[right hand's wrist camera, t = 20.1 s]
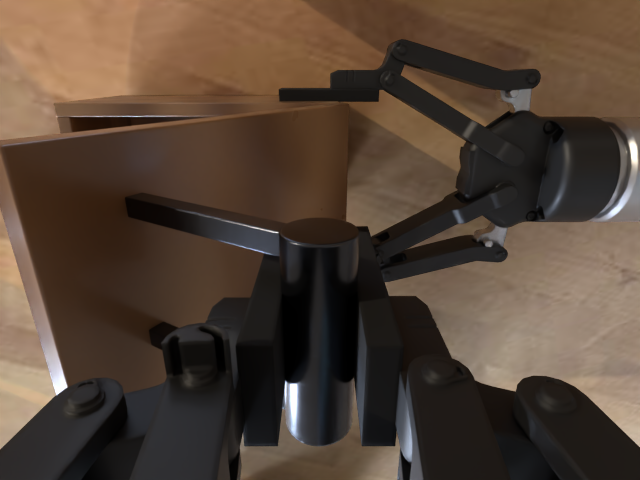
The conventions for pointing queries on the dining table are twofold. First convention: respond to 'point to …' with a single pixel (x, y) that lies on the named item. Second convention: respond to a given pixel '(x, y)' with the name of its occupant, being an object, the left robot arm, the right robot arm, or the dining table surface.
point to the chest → (161, 109)
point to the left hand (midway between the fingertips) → (283, 170)
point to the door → (190, 246)
